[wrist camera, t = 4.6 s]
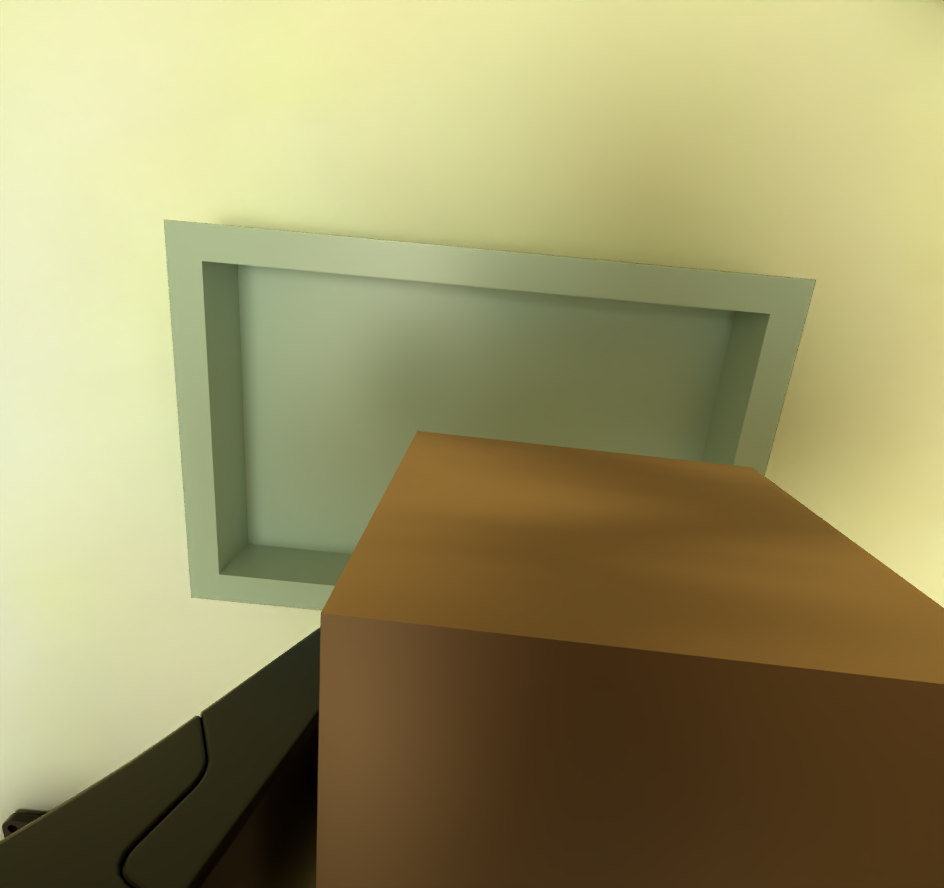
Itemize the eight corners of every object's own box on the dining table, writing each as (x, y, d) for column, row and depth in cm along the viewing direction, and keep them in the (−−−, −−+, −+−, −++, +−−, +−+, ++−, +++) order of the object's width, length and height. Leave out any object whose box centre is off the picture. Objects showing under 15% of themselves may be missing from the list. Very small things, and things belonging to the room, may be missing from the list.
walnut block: (752, 467, 9) (1067, 699, 4) (679, 733, 10) (837, 1124, 6) (417, 430, 9) (320, 612, 4) (397, 700, 10) (313, 1058, 6)
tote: (686, 599, 21) (718, 649, 18) (232, 554, 21) (191, 597, 18) (762, 280, 17) (815, 279, 14) (217, 230, 18) (163, 219, 15)
